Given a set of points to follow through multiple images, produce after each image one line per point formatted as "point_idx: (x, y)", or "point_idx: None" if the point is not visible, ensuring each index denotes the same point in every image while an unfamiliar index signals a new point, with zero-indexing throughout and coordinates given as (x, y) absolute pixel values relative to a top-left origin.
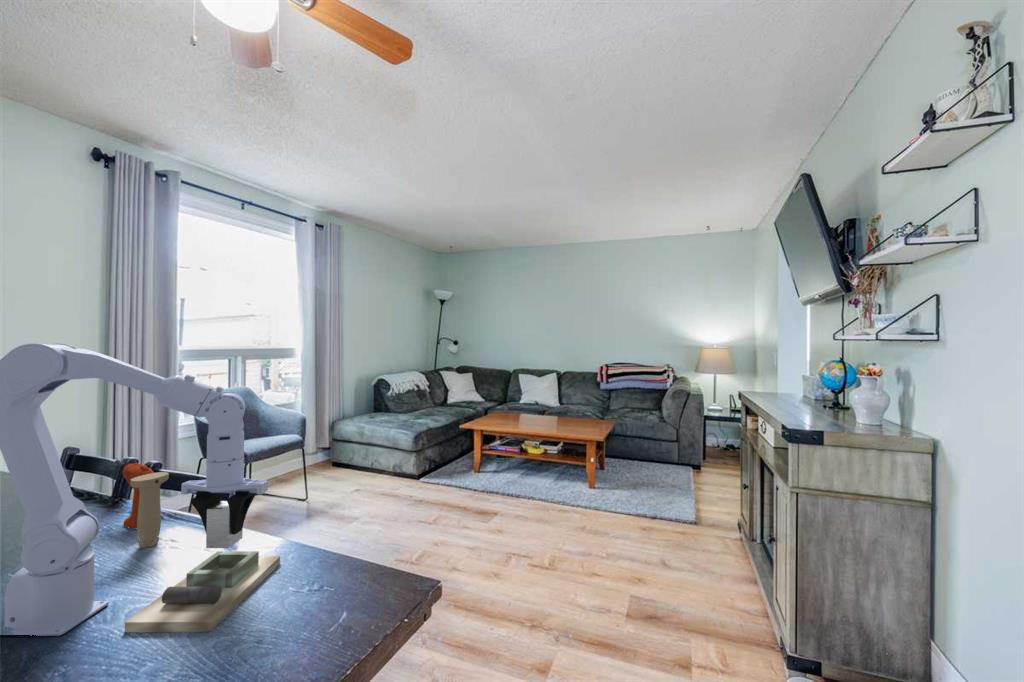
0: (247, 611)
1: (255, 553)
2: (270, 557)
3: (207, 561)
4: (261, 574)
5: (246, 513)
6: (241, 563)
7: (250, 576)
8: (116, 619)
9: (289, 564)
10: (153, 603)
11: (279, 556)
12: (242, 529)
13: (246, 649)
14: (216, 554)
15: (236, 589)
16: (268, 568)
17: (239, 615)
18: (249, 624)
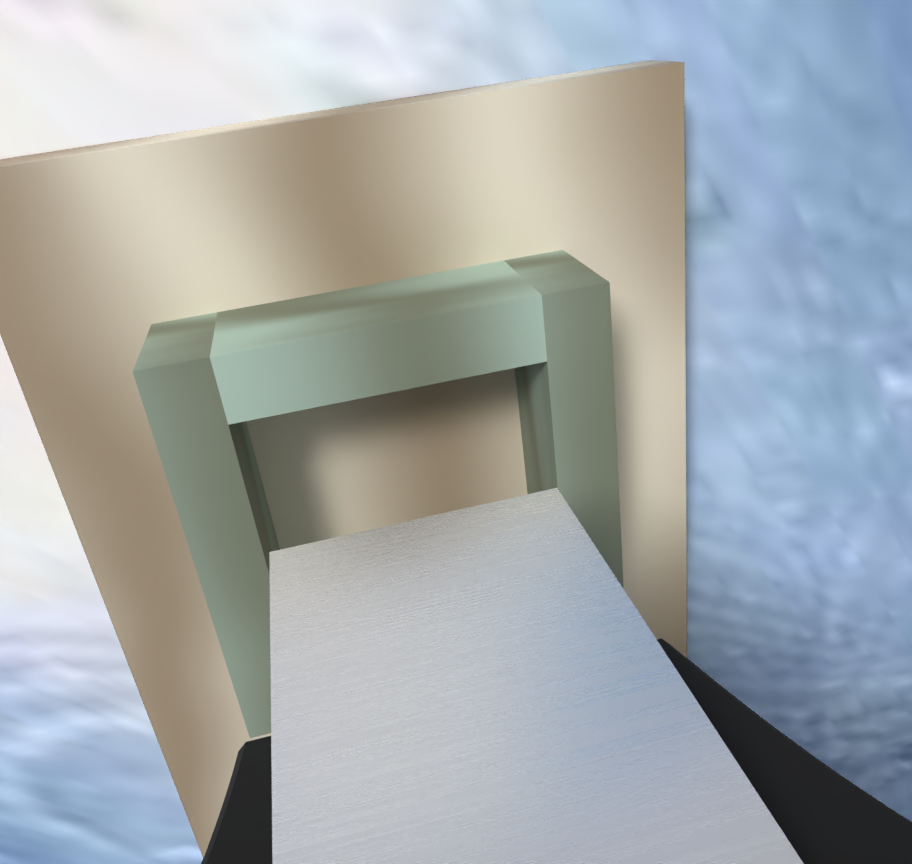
0: (747, 624)
1: (605, 329)
2: (600, 102)
3: (236, 558)
4: (683, 384)
5: (851, 790)
6: (594, 514)
7: (622, 435)
8: (54, 851)
9: (741, 54)
10: (208, 813)
11: (678, 63)
12: (594, 546)
13: (880, 793)
14: (191, 428)
15: (629, 586)
16: (681, 281)
17: (724, 657)
18: (813, 691)
